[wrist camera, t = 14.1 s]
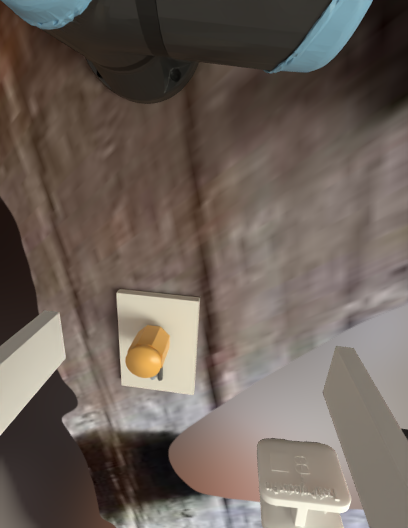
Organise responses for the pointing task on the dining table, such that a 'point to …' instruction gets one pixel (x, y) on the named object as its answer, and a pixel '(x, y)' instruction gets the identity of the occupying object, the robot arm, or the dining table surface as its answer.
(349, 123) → the dining table surface
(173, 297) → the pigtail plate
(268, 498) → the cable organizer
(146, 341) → the domed octagonal knob
